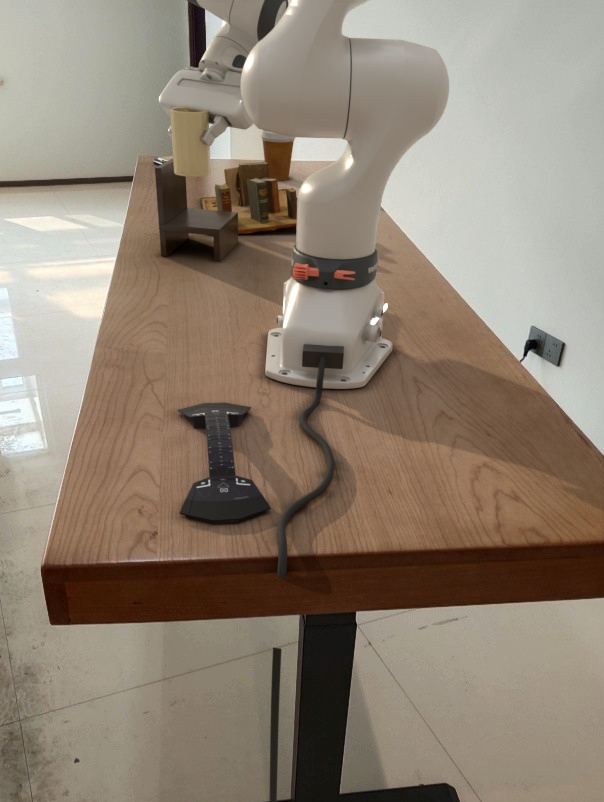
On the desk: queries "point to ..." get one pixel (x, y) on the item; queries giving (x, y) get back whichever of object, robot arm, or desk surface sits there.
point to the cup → (189, 142)
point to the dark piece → (221, 470)
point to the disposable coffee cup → (277, 154)
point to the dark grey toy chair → (189, 216)
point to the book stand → (254, 199)
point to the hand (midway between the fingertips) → (188, 139)
